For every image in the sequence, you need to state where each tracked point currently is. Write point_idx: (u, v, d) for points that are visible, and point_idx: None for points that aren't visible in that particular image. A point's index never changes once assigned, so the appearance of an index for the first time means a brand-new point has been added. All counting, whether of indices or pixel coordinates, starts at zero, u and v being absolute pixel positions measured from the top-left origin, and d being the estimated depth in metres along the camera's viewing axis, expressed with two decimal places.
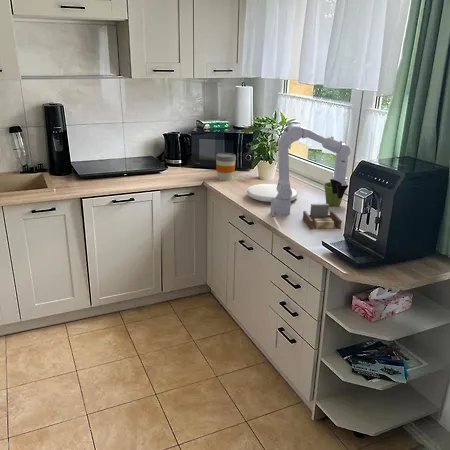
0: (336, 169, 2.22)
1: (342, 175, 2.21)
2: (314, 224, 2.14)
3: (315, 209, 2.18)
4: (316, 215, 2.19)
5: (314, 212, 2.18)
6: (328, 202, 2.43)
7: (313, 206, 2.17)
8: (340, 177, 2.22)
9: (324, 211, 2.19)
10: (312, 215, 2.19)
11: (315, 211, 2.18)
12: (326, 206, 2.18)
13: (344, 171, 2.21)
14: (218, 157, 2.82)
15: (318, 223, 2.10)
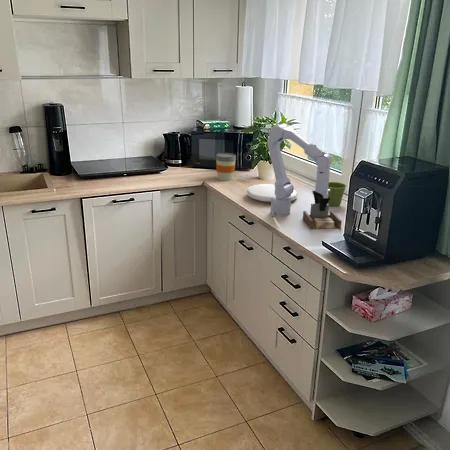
0: (318, 181, 2.13)
1: (324, 187, 2.12)
2: (314, 224, 2.14)
3: (315, 209, 2.18)
4: (316, 215, 2.19)
5: (314, 212, 2.18)
6: (328, 202, 2.43)
7: (313, 206, 2.17)
8: (322, 189, 2.13)
9: (324, 211, 2.19)
10: (312, 215, 2.19)
11: (315, 211, 2.18)
12: (326, 206, 2.18)
13: (326, 183, 2.12)
14: (218, 157, 2.82)
15: (318, 223, 2.10)
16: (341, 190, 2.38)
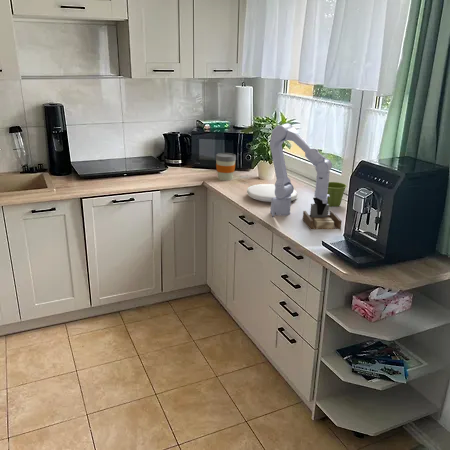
0: (317, 186, 2.13)
1: (323, 192, 2.13)
2: (314, 224, 2.14)
3: (315, 209, 2.18)
4: (316, 215, 2.19)
5: (314, 212, 2.18)
6: (328, 202, 2.43)
7: (313, 206, 2.17)
8: (321, 195, 2.14)
9: (324, 211, 2.19)
10: (312, 215, 2.19)
11: (315, 211, 2.18)
12: (326, 206, 2.18)
13: (325, 188, 2.13)
14: (218, 157, 2.82)
15: (318, 223, 2.10)
16: (341, 190, 2.38)
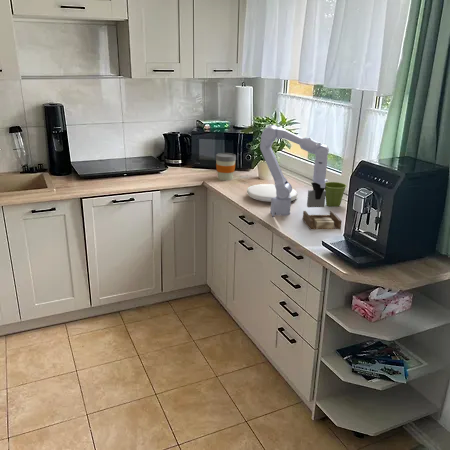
0: (315, 171, 2.16)
1: (321, 177, 2.16)
2: (314, 224, 2.14)
3: (312, 195, 2.21)
4: (313, 201, 2.22)
5: (311, 198, 2.21)
6: (328, 202, 2.43)
7: (310, 192, 2.20)
8: (319, 179, 2.16)
9: (321, 197, 2.21)
10: (309, 201, 2.22)
11: (312, 198, 2.21)
12: (323, 192, 2.20)
13: (323, 173, 2.15)
14: (218, 157, 2.82)
15: (318, 223, 2.10)
16: (341, 190, 2.38)
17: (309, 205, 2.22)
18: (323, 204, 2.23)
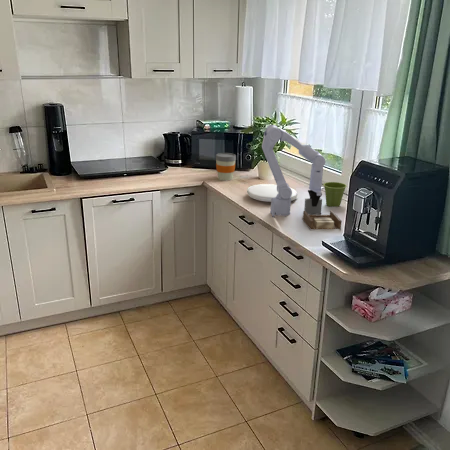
0: (311, 179, 2.23)
1: (317, 185, 2.22)
2: (314, 224, 2.14)
3: (309, 204, 2.27)
4: (310, 209, 2.28)
5: (308, 206, 2.28)
6: (328, 202, 2.43)
7: (307, 201, 2.27)
8: (315, 187, 2.23)
9: (318, 205, 2.28)
10: (306, 209, 2.28)
11: (309, 206, 2.28)
12: (319, 200, 2.27)
13: (319, 181, 2.22)
14: (218, 157, 2.82)
15: (318, 223, 2.10)
16: (341, 190, 2.38)
17: None
18: (320, 212, 2.29)
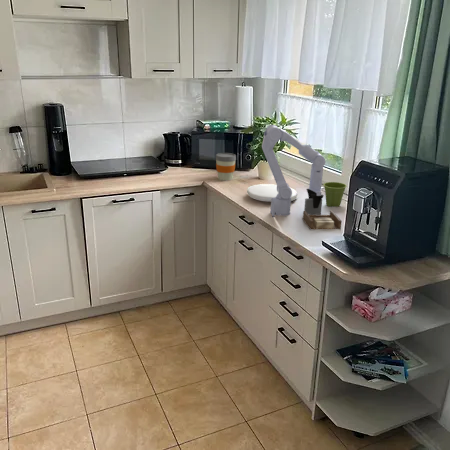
0: (311, 179, 2.23)
1: (317, 185, 2.22)
2: (314, 224, 2.14)
3: (309, 204, 2.27)
4: (310, 209, 2.28)
5: (308, 206, 2.28)
6: (328, 202, 2.43)
7: (307, 201, 2.27)
8: (315, 187, 2.23)
9: None
10: (306, 209, 2.28)
11: (309, 206, 2.28)
12: None
13: (319, 181, 2.22)
14: (218, 157, 2.82)
15: (318, 223, 2.10)
16: (341, 190, 2.38)
17: None
18: (320, 212, 2.29)
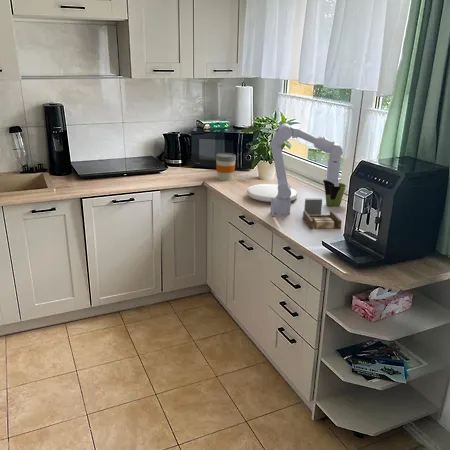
0: (329, 170, 2.18)
1: (335, 176, 2.18)
2: (314, 224, 2.14)
3: (309, 204, 2.27)
4: (310, 209, 2.28)
5: (308, 206, 2.28)
6: (328, 202, 2.43)
7: (307, 201, 2.27)
8: (333, 178, 2.19)
9: (318, 206, 2.28)
10: (306, 209, 2.28)
11: (309, 206, 2.28)
12: (320, 200, 2.27)
13: (337, 172, 2.18)
14: (218, 157, 2.82)
15: (318, 223, 2.10)
16: (341, 190, 2.38)
17: None
18: (320, 212, 2.29)
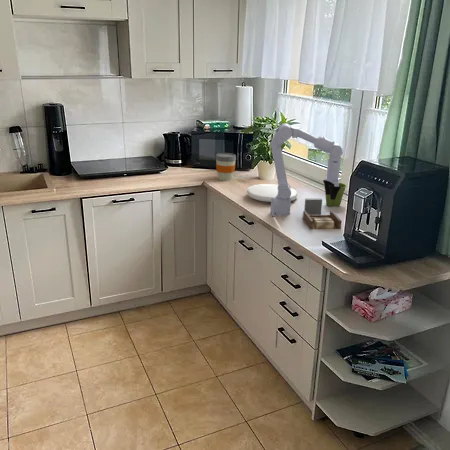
0: (329, 170, 2.18)
1: (335, 176, 2.18)
2: (314, 224, 2.14)
3: (309, 204, 2.27)
4: (310, 209, 2.28)
5: (308, 206, 2.28)
6: (328, 202, 2.43)
7: (307, 201, 2.27)
8: (333, 178, 2.19)
9: (318, 206, 2.28)
10: (306, 209, 2.28)
11: (309, 206, 2.28)
12: (320, 200, 2.27)
13: (337, 172, 2.18)
14: (218, 157, 2.82)
15: (318, 223, 2.10)
16: (341, 190, 2.38)
17: None
18: (320, 212, 2.29)
